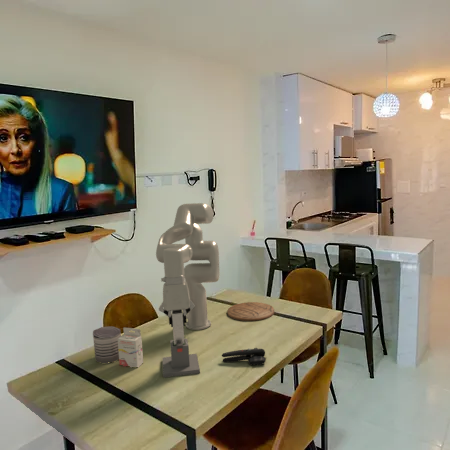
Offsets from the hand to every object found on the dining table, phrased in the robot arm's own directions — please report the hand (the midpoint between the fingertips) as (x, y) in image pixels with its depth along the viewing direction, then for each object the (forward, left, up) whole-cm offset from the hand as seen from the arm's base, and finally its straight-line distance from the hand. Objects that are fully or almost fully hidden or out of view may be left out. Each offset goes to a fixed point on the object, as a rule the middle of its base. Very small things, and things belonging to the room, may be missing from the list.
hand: (177, 324), depth 163 cm
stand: (0, 0, -17) cm, 17 cm away
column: (0, 0, -11) cm, 11 cm away
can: (-30, -15, -18) cm, 38 cm away
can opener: (+16, +20, -18) cm, 31 cm away
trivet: (-20, +63, -18) cm, 68 cm away
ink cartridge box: (-17, -12, -18) cm, 27 cm away
